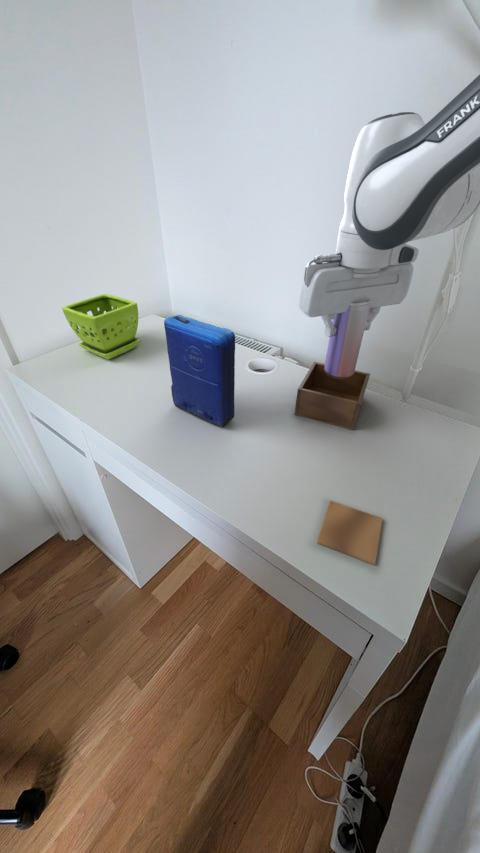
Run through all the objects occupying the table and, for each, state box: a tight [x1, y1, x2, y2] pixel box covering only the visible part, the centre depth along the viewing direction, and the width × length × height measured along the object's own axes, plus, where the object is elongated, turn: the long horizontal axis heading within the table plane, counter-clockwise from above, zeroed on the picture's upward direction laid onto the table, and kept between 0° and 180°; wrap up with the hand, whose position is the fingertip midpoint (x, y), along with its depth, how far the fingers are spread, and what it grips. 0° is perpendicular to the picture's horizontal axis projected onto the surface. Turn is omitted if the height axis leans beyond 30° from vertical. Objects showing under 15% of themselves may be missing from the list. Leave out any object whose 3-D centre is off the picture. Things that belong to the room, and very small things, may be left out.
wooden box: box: [294, 361, 371, 431], centre depth 72 cm, size 12×12×6 cm
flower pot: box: [61, 293, 141, 360], centre depth 91 cm, size 14×14×13 cm
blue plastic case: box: [163, 314, 236, 428], centre depth 66 cm, size 14×5×20 cm, turn 55°
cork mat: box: [316, 500, 383, 566], centre depth 50 cm, size 8×8×1 cm
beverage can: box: [324, 300, 370, 379], centre depth 64 cm, size 6×6×15 cm
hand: (347, 332), depth 63 cm, fingers closed on beverage can, 6 cm apart
